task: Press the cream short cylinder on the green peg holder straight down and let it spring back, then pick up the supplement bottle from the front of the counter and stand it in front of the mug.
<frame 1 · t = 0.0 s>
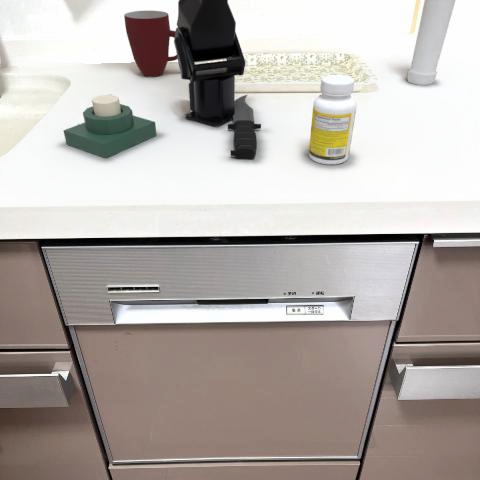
mug: (159, 75, 93), on the countertop
green peg holder: (112, 140, 68), on the countertop
cream short cylinder: (106, 106, 65), point 5 cm above the countertop, slide at 0.1 cm
supplement bottle: (327, 158, 64), on the countertop
white tall cylinder: (419, 82, 90), on the countertop
knife: (243, 127, 73), on the countertop, touching arm
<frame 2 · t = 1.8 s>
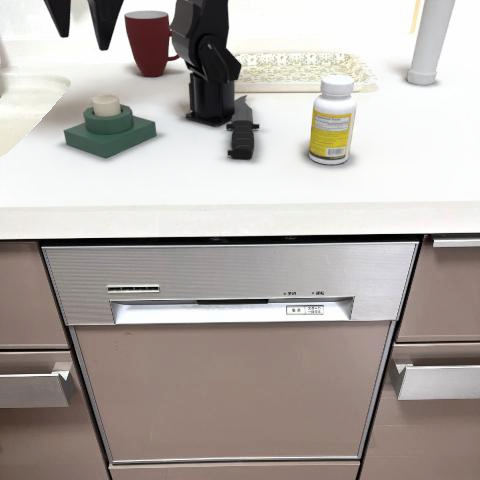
hand: (83, 43, 61), 12 cm above the countertop, tool pointing down, fingers open, 9 cm apart
nothing on the countertop moved.
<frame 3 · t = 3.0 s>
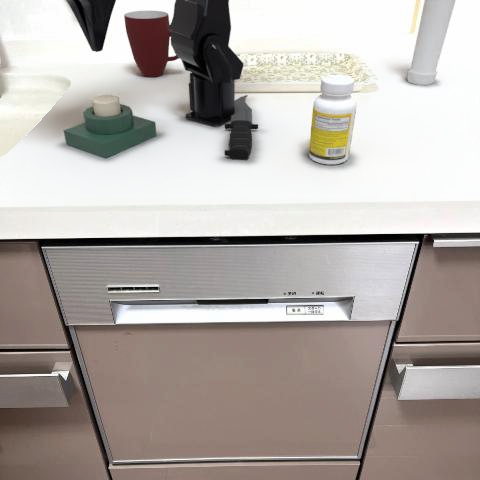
hand: (97, 51, 60), 11 cm above the countertop, tool pointing down, fingers closed
nothing on the countertop moved.
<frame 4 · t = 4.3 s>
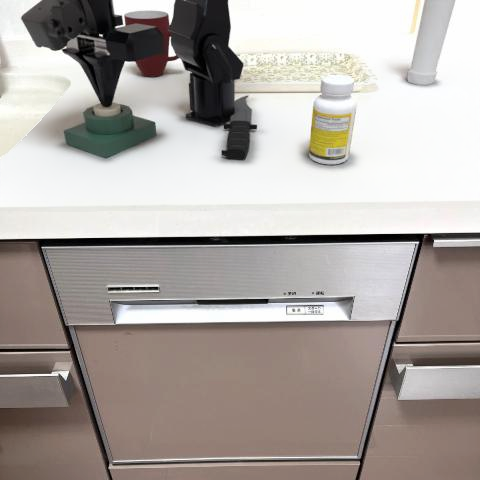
hand: (107, 106, 65), 5 cm above the countertop, tool pointing down, fingers closed, pressing on cream short cylinder
cream short cylinder: (108, 113, 65), point 4 cm above the countertop, slide at -0.9 cm, touching gripper
everything else where it was.
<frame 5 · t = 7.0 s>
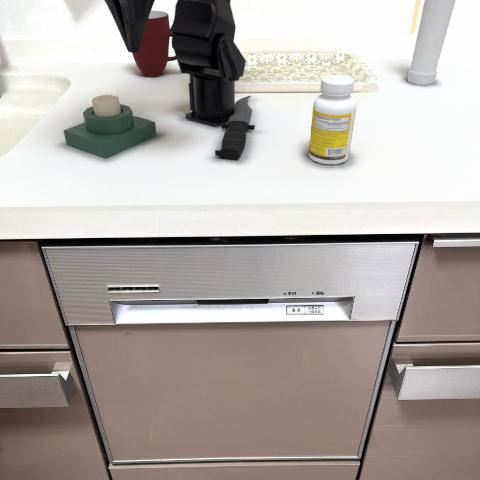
hand: (133, 52, 58), 12 cm above the countertop, tool pointing down, fingers closed
cream short cylinder: (106, 106, 65), point 5 cm above the countertop, slide at 0.1 cm
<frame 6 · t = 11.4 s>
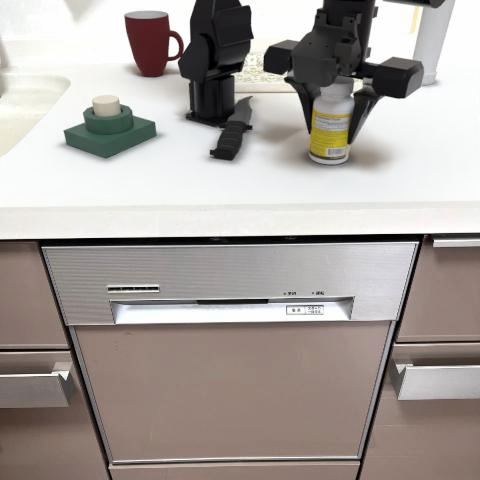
hand: (330, 138, 62), 3 cm above the countertop, tool pointing down, fingers closed on supplement bottle, 5 cm apart
supplement bottle: (327, 158, 64), on the countertop, touching gripper
when the fingers open (2 cm above the countertop, at t = 19.1 s): supplement bottle stays where it is, on the countertop.
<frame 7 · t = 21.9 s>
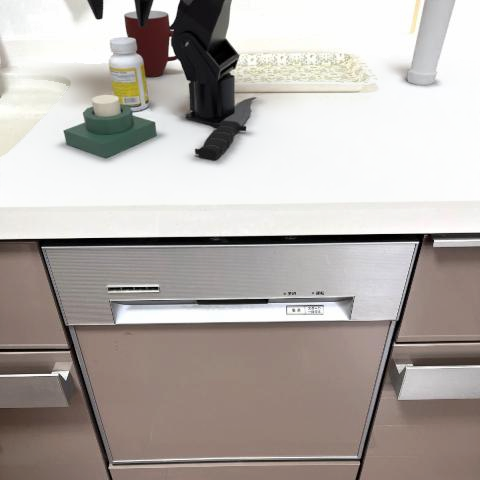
hand: (120, 22, 71), 12 cm above the countertop, tool pointing down, fingers open, 9 cm apart
supplement bottle: (132, 108, 79), on the countertop
at the end: cream short cylinder pushed in 1.3 cm at the most during the clip, back to where it started at the end; cream short cylinder slide at 0.1 cm; supplement bottle 0.6 cm from the target spot on the countertop beside the mug, on the countertop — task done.
